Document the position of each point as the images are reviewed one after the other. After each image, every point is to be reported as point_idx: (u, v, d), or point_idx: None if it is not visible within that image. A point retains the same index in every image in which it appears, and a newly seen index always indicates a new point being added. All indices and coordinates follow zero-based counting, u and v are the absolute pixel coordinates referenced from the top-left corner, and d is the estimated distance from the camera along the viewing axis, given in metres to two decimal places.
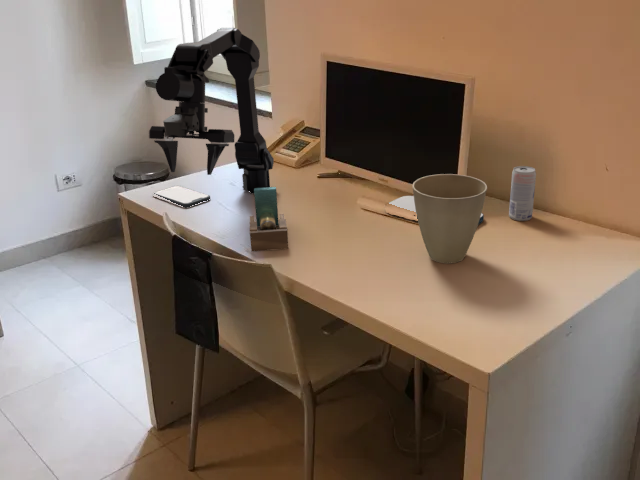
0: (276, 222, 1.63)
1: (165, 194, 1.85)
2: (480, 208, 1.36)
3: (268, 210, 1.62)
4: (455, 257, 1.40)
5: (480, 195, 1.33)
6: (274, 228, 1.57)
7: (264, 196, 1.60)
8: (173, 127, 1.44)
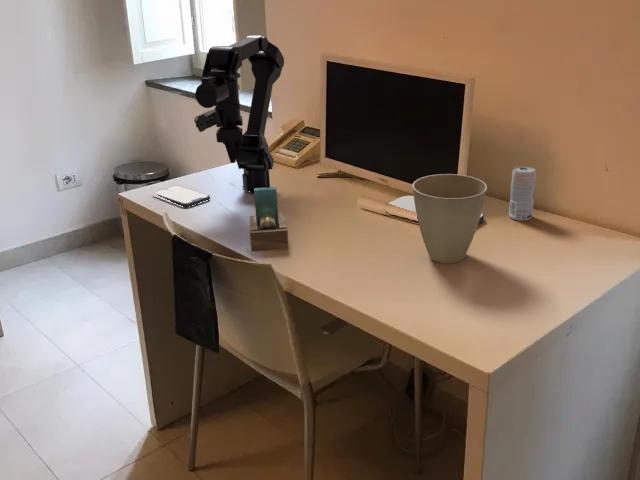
0: (276, 222, 1.63)
1: (165, 194, 1.85)
2: (480, 208, 1.36)
3: (268, 210, 1.62)
4: (455, 257, 1.40)
5: (480, 195, 1.33)
6: (274, 228, 1.57)
7: (264, 196, 1.60)
8: None
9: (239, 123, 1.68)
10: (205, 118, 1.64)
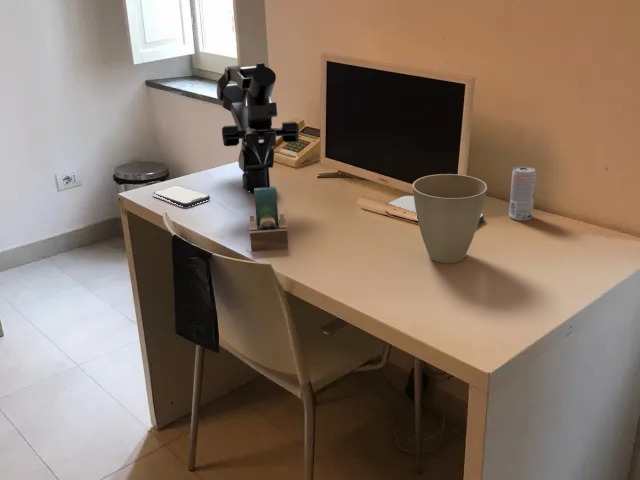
0: (276, 222, 1.63)
1: (165, 194, 1.85)
2: (480, 208, 1.36)
3: (268, 210, 1.62)
4: (455, 257, 1.40)
5: (480, 195, 1.33)
6: (274, 228, 1.57)
7: (264, 196, 1.60)
8: (260, 110, 1.62)
9: None
10: None
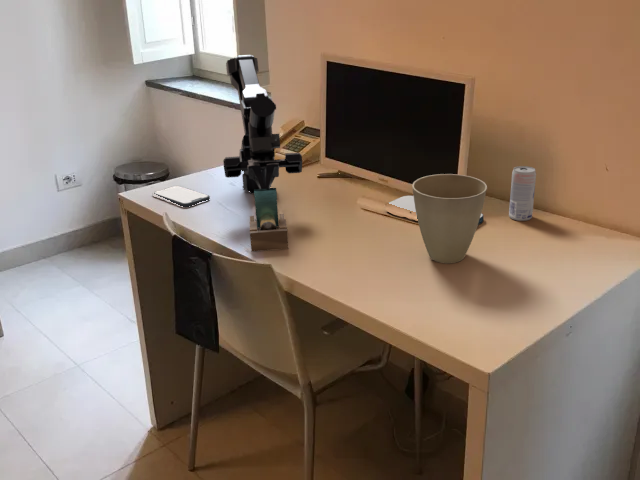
0: (276, 223, 1.63)
1: (165, 194, 1.85)
2: (480, 208, 1.36)
3: (268, 211, 1.61)
4: (455, 257, 1.40)
5: (480, 195, 1.33)
6: (274, 229, 1.56)
7: (264, 197, 1.60)
8: (262, 141, 1.58)
9: None
10: None
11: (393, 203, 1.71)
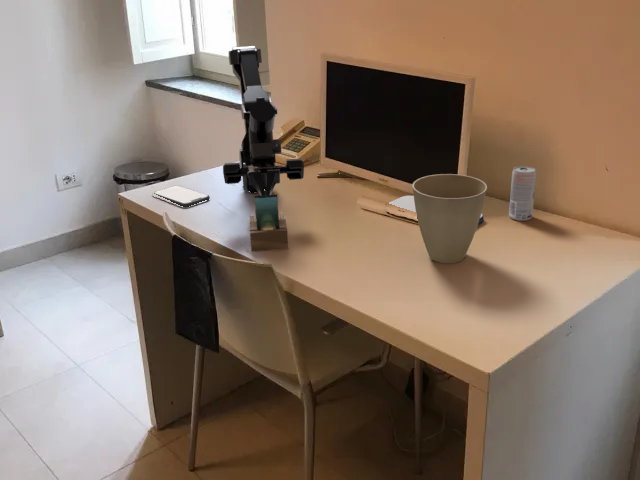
0: None
1: (165, 194, 1.85)
2: (480, 208, 1.36)
3: (269, 219, 1.57)
4: (455, 257, 1.40)
5: (480, 195, 1.33)
6: None
7: (265, 204, 1.55)
8: (263, 147, 1.53)
9: None
10: None
11: (393, 203, 1.71)
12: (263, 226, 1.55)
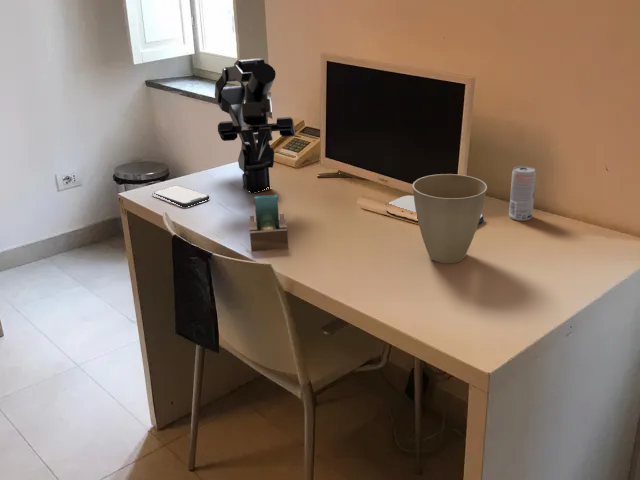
0: None
1: (164, 194, 1.85)
2: (480, 208, 1.36)
3: (269, 219, 1.57)
4: (455, 257, 1.40)
5: (480, 195, 1.33)
6: None
7: (265, 204, 1.55)
8: (252, 107, 1.64)
9: None
10: None
11: (393, 203, 1.71)
12: (263, 226, 1.55)
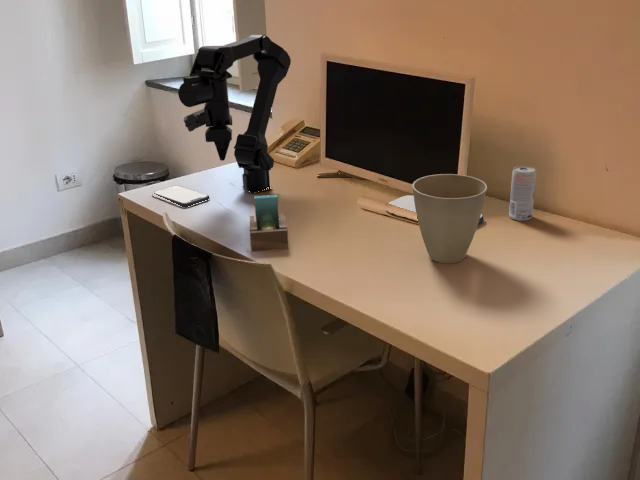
0: None
1: (164, 194, 1.85)
2: (480, 208, 1.36)
3: (269, 219, 1.57)
4: (455, 257, 1.40)
5: (480, 195, 1.33)
6: None
7: (265, 204, 1.55)
8: None
9: (228, 123, 1.68)
10: (194, 118, 1.65)
11: (393, 203, 1.71)
12: (263, 226, 1.55)
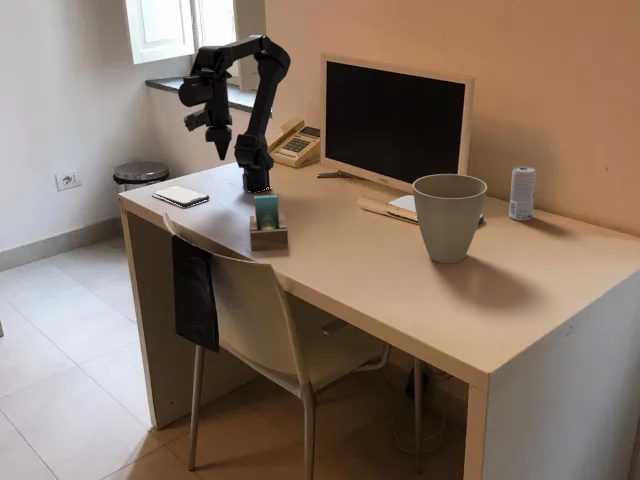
0: None
1: (164, 194, 1.85)
2: (480, 208, 1.36)
3: (269, 219, 1.57)
4: (455, 257, 1.40)
5: (480, 195, 1.33)
6: None
7: (265, 204, 1.55)
8: None
9: (228, 123, 1.68)
10: (194, 118, 1.65)
11: (394, 203, 1.71)
12: (263, 226, 1.55)
